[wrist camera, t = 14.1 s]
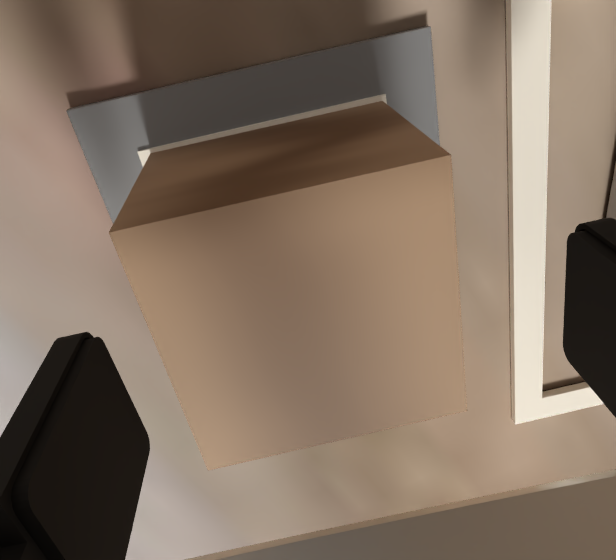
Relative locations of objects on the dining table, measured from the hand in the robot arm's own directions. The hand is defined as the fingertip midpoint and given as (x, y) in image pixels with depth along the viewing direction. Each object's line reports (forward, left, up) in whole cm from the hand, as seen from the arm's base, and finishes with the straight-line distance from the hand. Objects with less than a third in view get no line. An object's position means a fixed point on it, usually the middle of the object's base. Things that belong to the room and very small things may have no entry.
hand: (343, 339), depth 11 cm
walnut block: (+1, 0, -5) cm, 5 cm away
